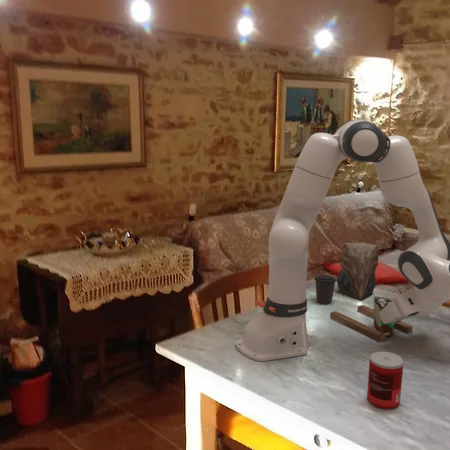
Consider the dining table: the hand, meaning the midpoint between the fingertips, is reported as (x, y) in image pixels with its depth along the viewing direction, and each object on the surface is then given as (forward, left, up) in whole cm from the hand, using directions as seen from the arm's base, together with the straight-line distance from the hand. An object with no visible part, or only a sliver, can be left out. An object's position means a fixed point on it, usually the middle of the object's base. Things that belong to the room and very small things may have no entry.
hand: (394, 320), depth 163 cm
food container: (0, +3, -5) cm, 6 cm away
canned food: (-32, -26, -5) cm, 42 cm away
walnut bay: (0, +10, -5) cm, 11 cm away
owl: (+17, +34, -5) cm, 38 cm away
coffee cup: (+1, +34, -5) cm, 34 cm away
